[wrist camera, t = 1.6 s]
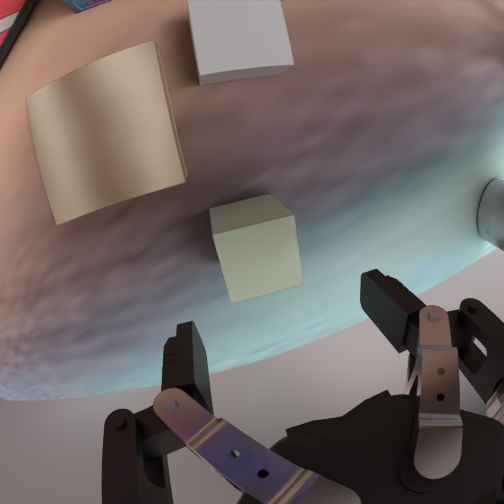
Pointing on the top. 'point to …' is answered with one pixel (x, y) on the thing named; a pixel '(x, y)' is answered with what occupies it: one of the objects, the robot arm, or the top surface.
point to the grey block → (238, 39)
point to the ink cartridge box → (82, 4)
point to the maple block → (106, 133)
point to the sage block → (256, 247)
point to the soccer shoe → (12, 22)
